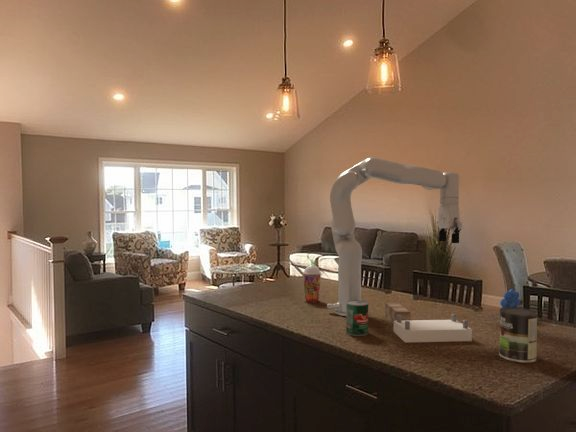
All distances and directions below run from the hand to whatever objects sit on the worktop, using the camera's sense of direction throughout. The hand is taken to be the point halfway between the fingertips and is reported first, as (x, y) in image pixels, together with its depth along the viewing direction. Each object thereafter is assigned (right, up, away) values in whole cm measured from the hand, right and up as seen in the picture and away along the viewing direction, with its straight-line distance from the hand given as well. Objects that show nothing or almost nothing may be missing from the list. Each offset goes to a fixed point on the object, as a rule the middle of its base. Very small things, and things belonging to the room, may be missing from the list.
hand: (448, 242), depth 195 cm
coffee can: (+2, -32, -56) cm, 64 cm away
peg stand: (-18, -31, -34) cm, 49 cm away
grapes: (+21, -31, -9) cm, 38 cm away
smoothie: (-57, -30, +24) cm, 68 cm away
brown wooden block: (-25, -31, -14) cm, 42 cm away
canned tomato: (-43, -31, -29) cm, 61 cm away
